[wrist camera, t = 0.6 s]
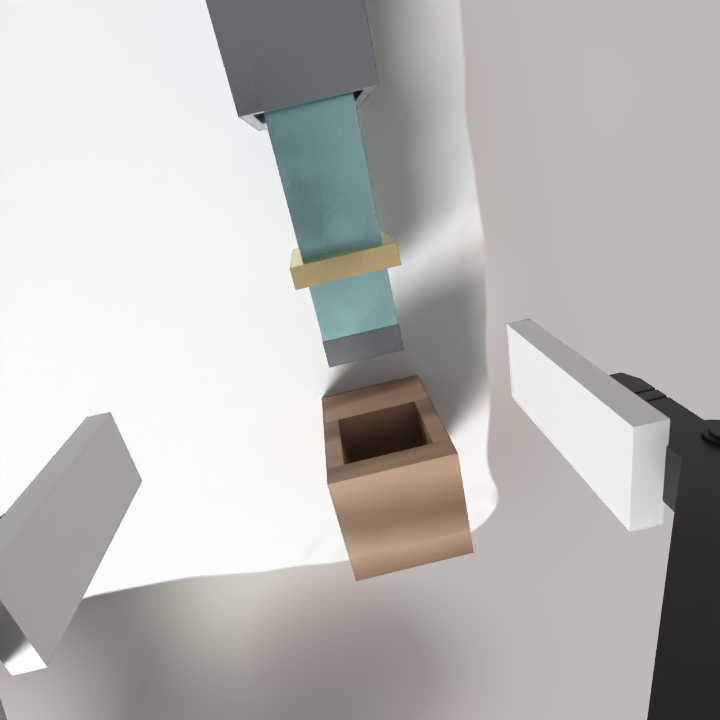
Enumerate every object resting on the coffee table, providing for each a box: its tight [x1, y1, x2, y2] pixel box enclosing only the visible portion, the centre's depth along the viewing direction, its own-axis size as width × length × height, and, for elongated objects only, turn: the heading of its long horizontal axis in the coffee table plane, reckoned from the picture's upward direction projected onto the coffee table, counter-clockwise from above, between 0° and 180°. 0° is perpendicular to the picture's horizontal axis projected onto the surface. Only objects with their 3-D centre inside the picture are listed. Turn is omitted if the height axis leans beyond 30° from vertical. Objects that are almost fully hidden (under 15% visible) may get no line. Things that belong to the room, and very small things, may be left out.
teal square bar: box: [264, 92, 404, 367], centre depth 25 cm, size 28×6×6 cm, turn 12°
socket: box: [322, 376, 473, 581], centre depth 36 cm, size 8×8×12 cm
